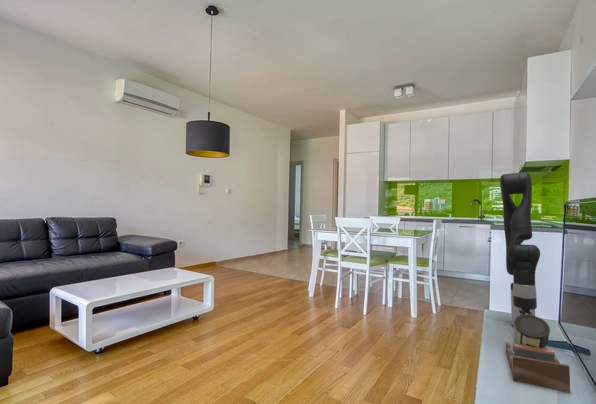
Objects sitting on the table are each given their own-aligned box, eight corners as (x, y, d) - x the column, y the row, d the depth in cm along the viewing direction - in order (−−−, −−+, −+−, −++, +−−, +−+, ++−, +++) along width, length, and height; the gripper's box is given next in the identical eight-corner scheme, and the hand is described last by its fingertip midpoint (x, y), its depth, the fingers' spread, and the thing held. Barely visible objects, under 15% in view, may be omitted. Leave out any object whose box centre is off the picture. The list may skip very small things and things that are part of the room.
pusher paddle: (514, 365, 112) (514, 343, 112) (553, 372, 107) (552, 349, 107) (515, 368, 110) (515, 346, 110) (555, 375, 104) (554, 352, 105)
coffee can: (537, 339, 120) (540, 313, 114) (552, 363, 111) (556, 336, 105) (507, 340, 123) (509, 315, 117) (520, 364, 114) (522, 338, 108)
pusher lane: (505, 352, 122) (505, 331, 122) (552, 359, 115) (551, 338, 115) (513, 381, 102) (513, 356, 102) (570, 392, 95) (569, 366, 95)
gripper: (510, 289, 130) (512, 331, 129) (515, 298, 118) (516, 343, 118) (533, 292, 126) (534, 334, 126) (539, 300, 115) (541, 347, 114)
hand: (525, 339), depth 122 cm, fingers closed
